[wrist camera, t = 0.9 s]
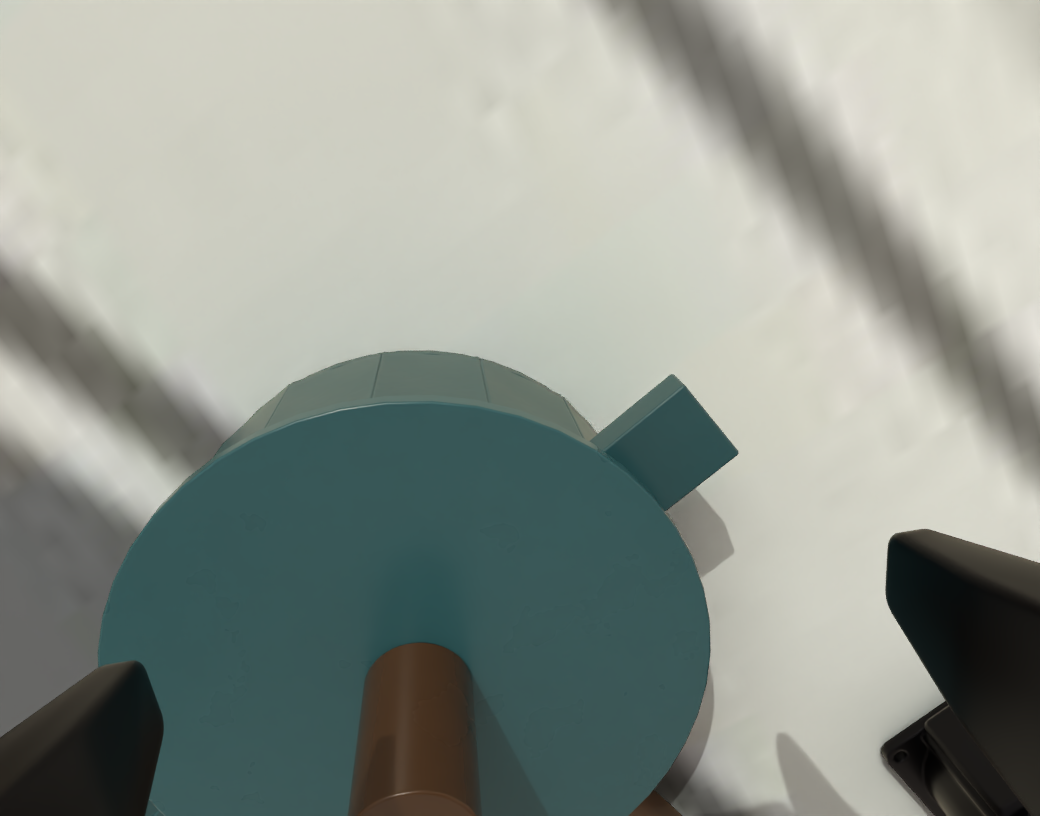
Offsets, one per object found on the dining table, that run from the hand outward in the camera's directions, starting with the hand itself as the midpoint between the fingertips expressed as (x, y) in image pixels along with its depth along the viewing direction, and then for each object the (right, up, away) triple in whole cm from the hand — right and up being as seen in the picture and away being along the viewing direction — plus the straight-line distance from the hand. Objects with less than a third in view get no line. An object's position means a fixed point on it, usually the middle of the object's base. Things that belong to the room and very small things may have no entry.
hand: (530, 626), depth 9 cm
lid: (-3, -4, +10) cm, 11 cm away
